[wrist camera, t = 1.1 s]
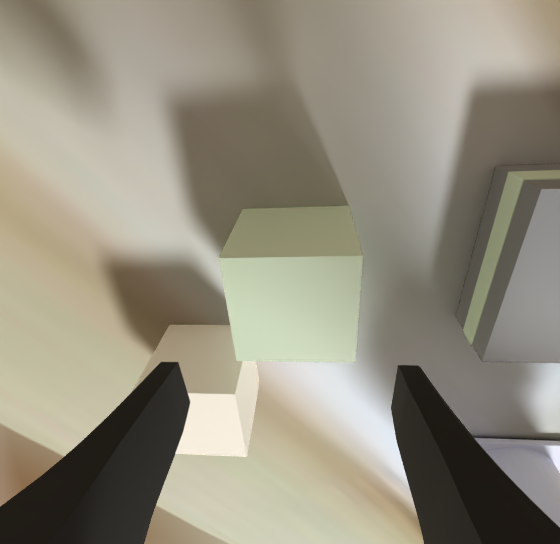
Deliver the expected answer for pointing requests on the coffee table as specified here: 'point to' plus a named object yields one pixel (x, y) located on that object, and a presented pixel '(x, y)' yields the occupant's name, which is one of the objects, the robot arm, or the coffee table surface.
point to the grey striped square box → (516, 269)
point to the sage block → (293, 284)
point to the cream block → (211, 388)
